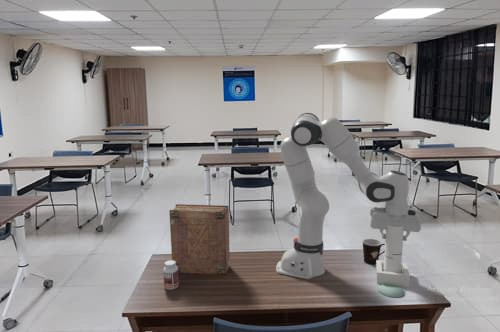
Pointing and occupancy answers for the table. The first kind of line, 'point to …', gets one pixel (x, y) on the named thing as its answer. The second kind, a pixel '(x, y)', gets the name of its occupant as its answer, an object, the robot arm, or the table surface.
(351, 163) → the robot arm
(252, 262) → the table surface
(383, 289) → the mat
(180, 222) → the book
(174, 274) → the pill bottle
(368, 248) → the coffee mug
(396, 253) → the cylindrical container
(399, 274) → the holder
